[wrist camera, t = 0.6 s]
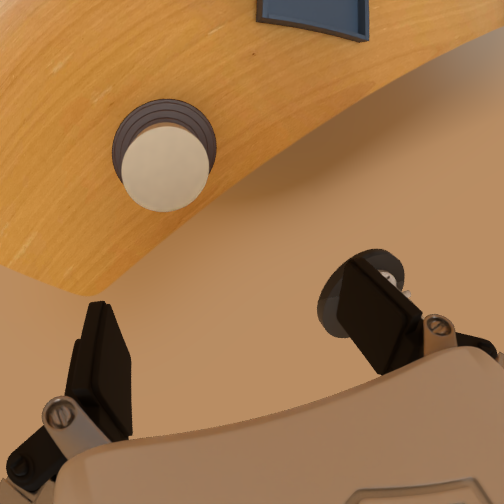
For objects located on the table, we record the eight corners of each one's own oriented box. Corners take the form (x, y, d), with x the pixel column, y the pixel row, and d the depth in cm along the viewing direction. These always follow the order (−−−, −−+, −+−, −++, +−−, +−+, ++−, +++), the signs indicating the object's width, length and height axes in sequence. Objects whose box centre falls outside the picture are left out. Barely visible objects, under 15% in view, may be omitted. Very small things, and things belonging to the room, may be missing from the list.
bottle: (194, 100, 26) (238, 94, 11) (194, 160, 30) (235, 228, 14) (131, 105, 25) (89, 105, 10) (134, 165, 28) (105, 242, 13)
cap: (200, 120, 14) (210, 123, 11) (201, 188, 16) (211, 207, 13) (126, 126, 13) (118, 131, 10) (132, 195, 15) (126, 216, 12)
